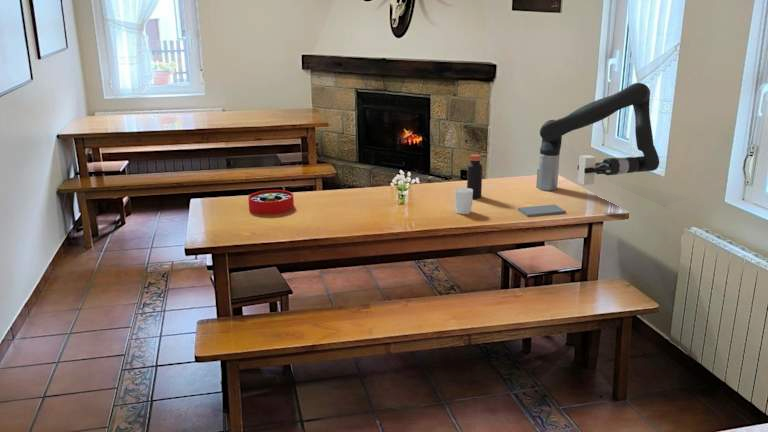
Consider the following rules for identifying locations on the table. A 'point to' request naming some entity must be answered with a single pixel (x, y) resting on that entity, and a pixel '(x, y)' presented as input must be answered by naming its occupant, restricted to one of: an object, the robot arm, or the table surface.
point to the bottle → (475, 175)
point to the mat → (541, 210)
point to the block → (584, 162)
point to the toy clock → (271, 202)
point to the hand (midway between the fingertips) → (581, 169)
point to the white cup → (463, 200)
